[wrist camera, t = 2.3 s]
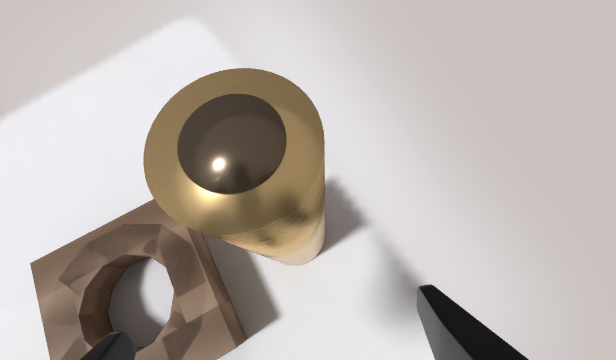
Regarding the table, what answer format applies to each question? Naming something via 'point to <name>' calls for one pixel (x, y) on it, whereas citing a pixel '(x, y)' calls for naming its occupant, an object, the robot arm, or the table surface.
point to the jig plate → (109, 268)
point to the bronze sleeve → (242, 163)
